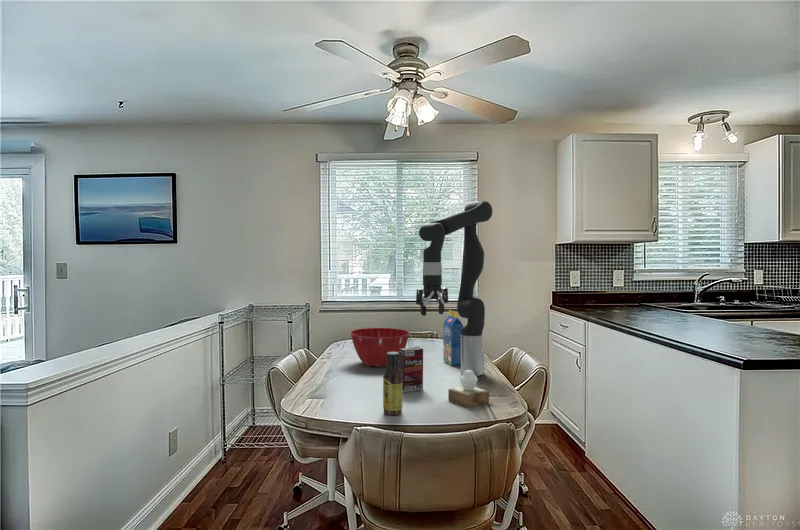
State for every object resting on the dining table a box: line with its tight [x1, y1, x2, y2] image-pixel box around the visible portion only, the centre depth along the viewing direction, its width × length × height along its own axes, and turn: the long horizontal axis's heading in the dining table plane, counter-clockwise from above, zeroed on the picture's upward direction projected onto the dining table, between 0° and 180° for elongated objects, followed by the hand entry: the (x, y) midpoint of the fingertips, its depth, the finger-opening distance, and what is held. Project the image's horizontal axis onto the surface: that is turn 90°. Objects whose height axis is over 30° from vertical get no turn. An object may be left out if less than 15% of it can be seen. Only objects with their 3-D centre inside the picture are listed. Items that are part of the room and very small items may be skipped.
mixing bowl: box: [349, 327, 411, 368], centre depth 235 cm, size 28×28×16 cm
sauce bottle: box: [382, 352, 403, 416], centre depth 161 cm, size 7×6×20 cm
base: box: [448, 386, 490, 408], centre depth 174 cm, size 10×10×4 cm
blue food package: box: [442, 309, 464, 367], centre depth 237 cm, size 6×12×25 cm, turn 13°
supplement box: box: [398, 346, 424, 393], centre depth 189 cm, size 9×5×16 cm, turn 117°
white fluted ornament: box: [459, 370, 479, 390], centre depth 174 cm, size 6×6×7 cm
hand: (432, 314), depth 196 cm, fingers open, 8 cm apart
